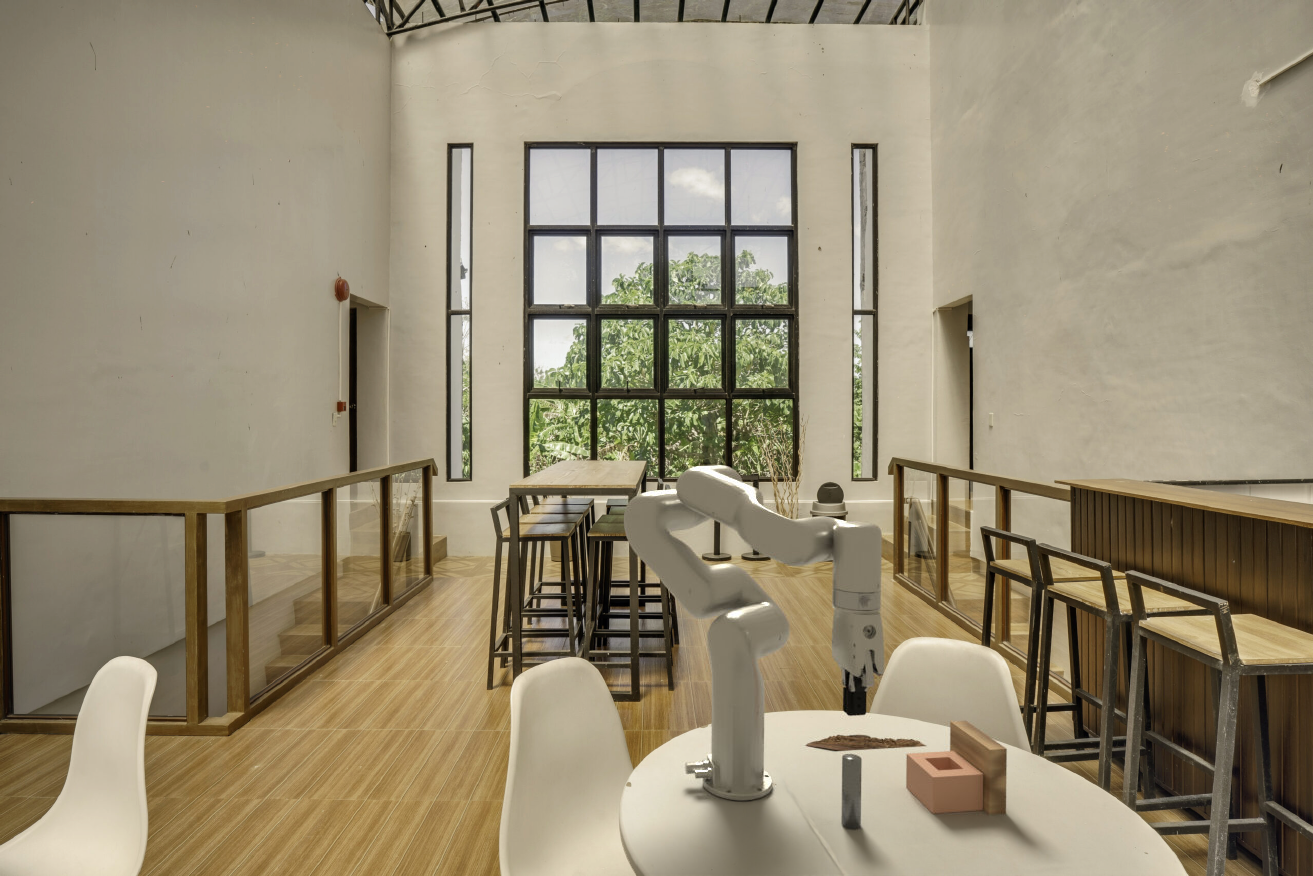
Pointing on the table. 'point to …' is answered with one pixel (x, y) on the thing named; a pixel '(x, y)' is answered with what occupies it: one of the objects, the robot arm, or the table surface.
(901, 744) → the wooden fragment
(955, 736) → the block
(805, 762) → the table surface
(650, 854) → the table surface
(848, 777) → the dowel
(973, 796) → the block
